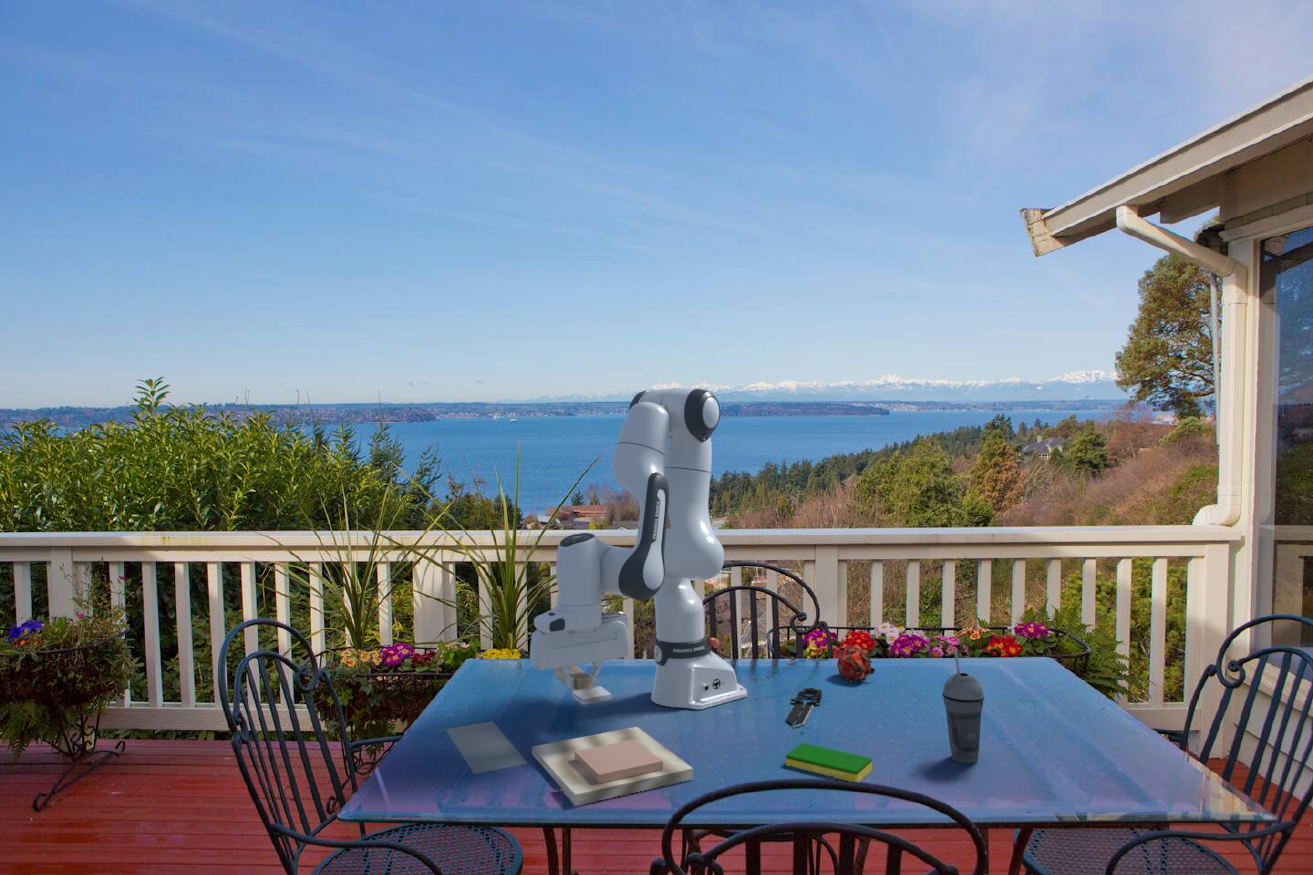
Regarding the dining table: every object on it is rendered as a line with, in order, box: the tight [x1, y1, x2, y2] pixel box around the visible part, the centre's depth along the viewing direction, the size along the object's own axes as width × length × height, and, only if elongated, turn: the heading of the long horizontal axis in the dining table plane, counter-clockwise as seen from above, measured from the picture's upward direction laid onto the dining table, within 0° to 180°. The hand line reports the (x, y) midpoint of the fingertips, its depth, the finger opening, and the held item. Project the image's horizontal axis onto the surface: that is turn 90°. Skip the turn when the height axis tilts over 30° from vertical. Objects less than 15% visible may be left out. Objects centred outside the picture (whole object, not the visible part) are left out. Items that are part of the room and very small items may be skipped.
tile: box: [574, 739, 663, 784], centre depth 146 cm, size 12×2×12 cm
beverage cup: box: [942, 648, 985, 764], centre depth 150 cm, size 7×7×20 cm
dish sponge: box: [785, 742, 873, 783], centre depth 147 cm, size 7×14×2 cm, turn 53°
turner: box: [554, 665, 613, 705], centre depth 164 cm, size 6×20×3 cm, turn 26°
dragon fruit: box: [836, 645, 876, 683], centre depth 200 cm, size 8×8×12 cm
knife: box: [785, 687, 823, 729], centre depth 179 cm, size 25×6×1 cm, turn 155°
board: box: [531, 726, 694, 805], centre depth 149 cm, size 22×24×2 cm
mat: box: [445, 720, 529, 775], centre depth 160 cm, size 10×26×1 cm, turn 26°
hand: (581, 685), depth 162 cm, fingers closed on turner, 3 cm apart
